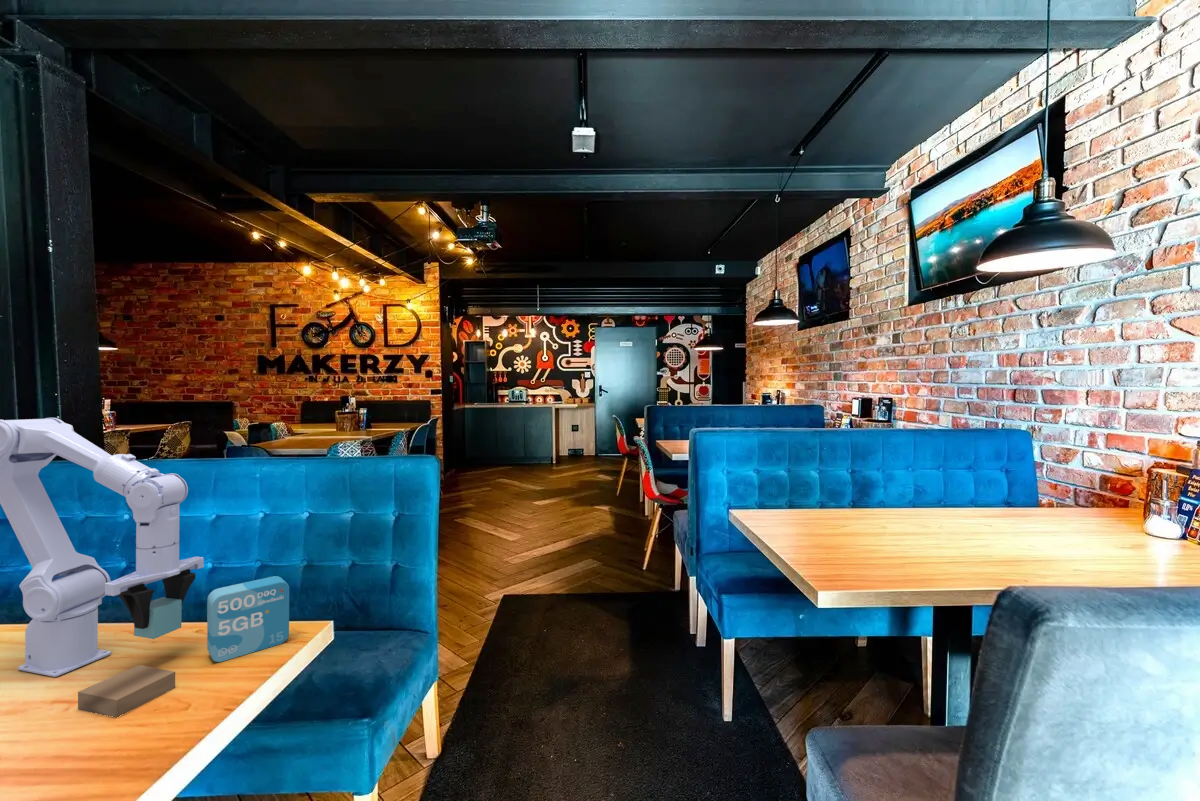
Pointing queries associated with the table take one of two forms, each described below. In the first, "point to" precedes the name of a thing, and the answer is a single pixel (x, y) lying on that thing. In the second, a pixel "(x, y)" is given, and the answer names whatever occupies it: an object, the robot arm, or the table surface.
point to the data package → (247, 618)
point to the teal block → (161, 618)
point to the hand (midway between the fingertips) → (157, 621)
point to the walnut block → (126, 691)
